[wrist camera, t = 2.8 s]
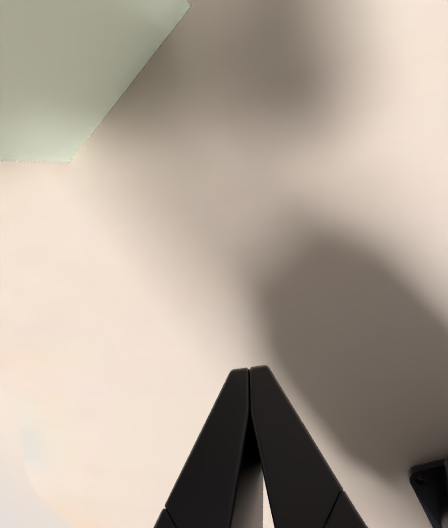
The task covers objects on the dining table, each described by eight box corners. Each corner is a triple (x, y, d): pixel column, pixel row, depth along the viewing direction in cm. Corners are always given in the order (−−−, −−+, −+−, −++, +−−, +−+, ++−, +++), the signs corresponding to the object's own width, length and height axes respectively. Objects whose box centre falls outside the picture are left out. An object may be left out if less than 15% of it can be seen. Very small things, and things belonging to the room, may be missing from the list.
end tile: (191, 5, 19) (60, -124, 11) (69, 162, 23) (-100, 159, 14) (162, -27, 19) (10, -179, 11) (46, 135, 23) (-137, 116, 14)
